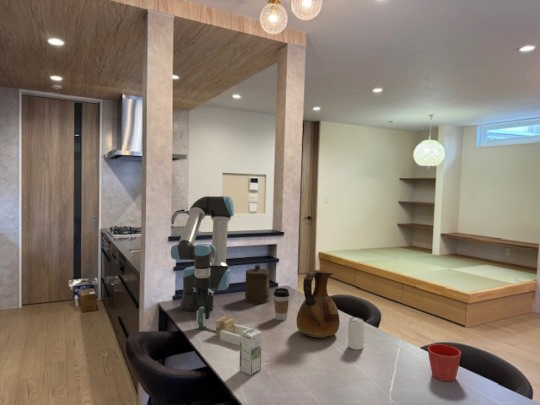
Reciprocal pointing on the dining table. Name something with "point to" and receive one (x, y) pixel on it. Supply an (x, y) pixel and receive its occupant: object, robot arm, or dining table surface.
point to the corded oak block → (217, 323)
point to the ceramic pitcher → (317, 307)
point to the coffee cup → (281, 303)
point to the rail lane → (233, 334)
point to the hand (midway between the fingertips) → (202, 324)
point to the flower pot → (444, 361)
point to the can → (356, 333)
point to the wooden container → (257, 285)
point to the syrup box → (250, 351)
